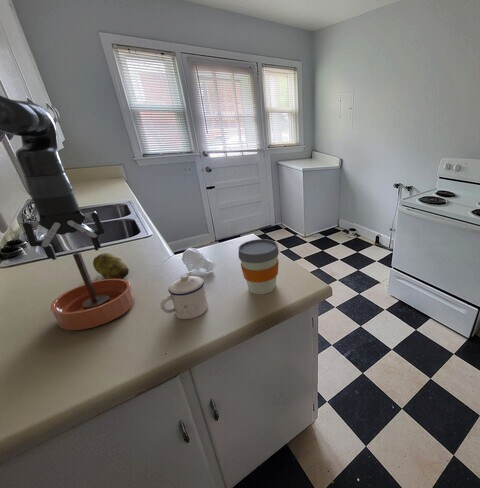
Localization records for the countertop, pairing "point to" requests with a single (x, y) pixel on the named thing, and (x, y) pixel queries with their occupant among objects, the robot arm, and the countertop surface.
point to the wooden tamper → (89, 286)
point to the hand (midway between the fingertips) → (76, 254)
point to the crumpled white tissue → (196, 260)
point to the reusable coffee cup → (259, 264)
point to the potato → (110, 266)
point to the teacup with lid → (187, 297)
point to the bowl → (76, 318)
